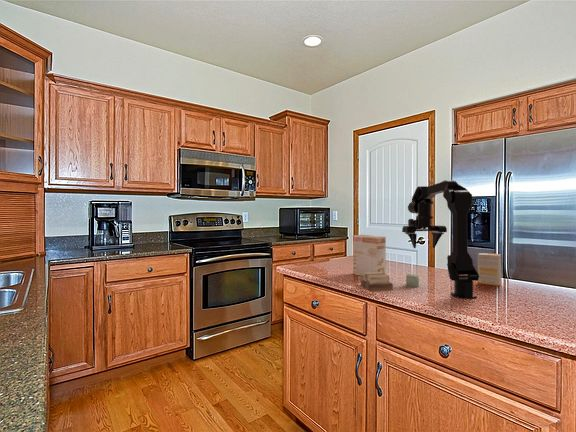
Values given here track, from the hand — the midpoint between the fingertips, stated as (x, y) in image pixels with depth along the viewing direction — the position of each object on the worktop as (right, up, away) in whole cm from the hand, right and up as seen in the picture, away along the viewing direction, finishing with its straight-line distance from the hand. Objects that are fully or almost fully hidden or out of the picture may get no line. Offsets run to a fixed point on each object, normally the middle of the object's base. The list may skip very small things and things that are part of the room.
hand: (424, 248), depth 153 cm
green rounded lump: (-9, -15, -11) cm, 21 cm away
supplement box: (+25, -15, -9) cm, 30 cm away
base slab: (-25, -16, -13) cm, 32 cm away
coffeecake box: (-23, -15, +10) cm, 29 cm away
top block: (-25, -13, -13) cm, 31 cm away
